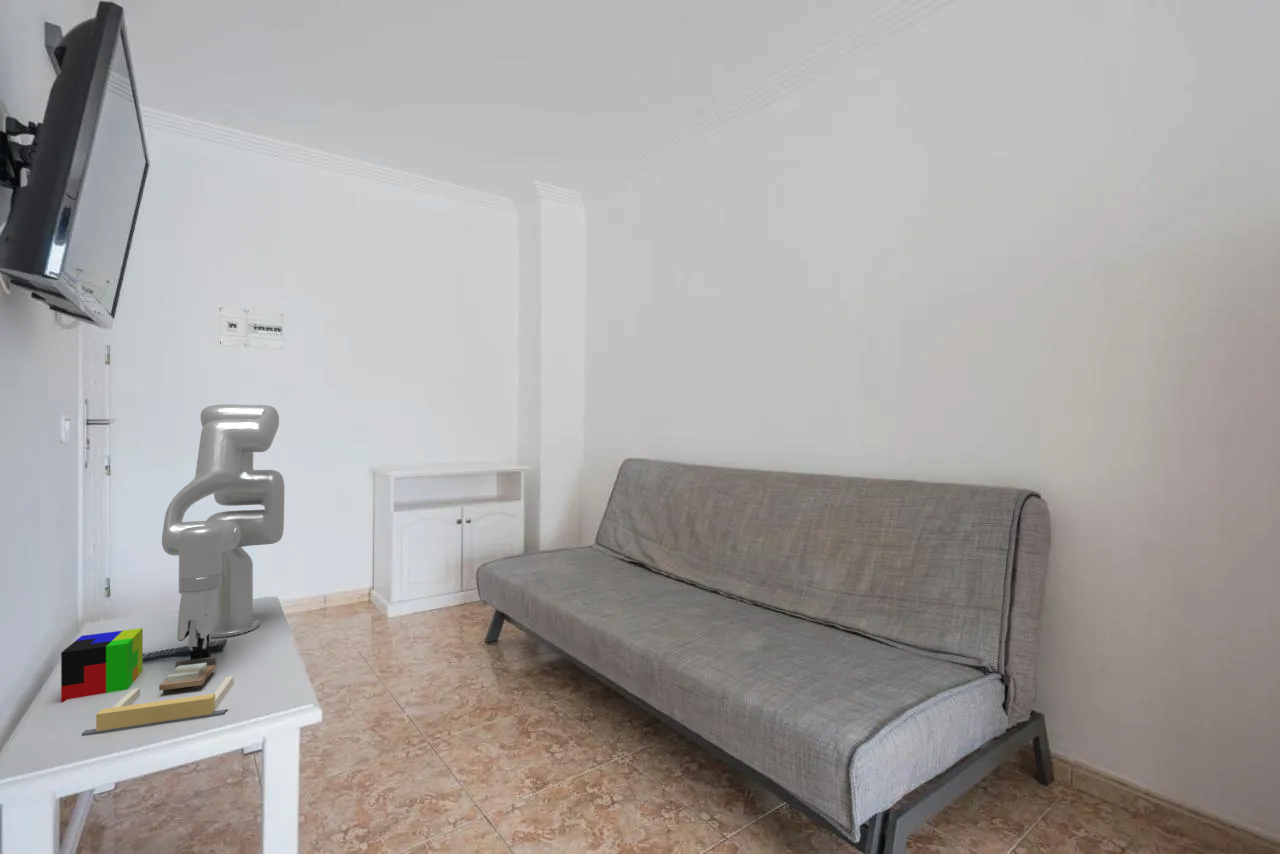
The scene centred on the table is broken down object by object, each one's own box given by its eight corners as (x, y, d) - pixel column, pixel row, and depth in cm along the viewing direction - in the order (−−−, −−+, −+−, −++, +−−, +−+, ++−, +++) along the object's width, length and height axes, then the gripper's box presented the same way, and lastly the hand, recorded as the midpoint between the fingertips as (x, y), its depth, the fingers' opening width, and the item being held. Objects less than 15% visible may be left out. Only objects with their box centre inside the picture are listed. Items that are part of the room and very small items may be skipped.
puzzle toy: (81, 682, 121) (81, 635, 121) (142, 673, 126) (142, 628, 126) (61, 703, 112) (61, 652, 112) (127, 692, 117) (127, 643, 117)
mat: (147, 674, 125) (147, 659, 125) (260, 660, 132) (260, 646, 132) (81, 735, 100) (81, 716, 100) (224, 714, 108) (224, 696, 108)
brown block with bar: (177, 677, 122) (177, 661, 122) (216, 672, 125) (216, 656, 125) (159, 696, 114) (159, 678, 114) (201, 690, 116) (201, 673, 116)
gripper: (192, 576, 131) (192, 656, 131) (165, 594, 117) (165, 683, 117) (231, 573, 134) (231, 651, 134) (209, 590, 120) (209, 677, 120)
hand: (200, 666), depth 125 cm, fingers closed
